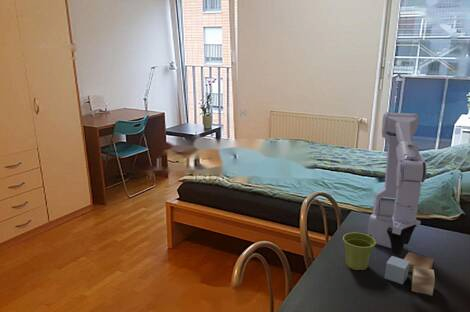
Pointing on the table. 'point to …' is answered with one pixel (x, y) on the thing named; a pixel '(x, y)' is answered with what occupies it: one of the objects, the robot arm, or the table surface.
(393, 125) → the robot arm
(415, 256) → the oak block
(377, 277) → the table surface
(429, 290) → the beech cube
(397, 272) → the grey cube
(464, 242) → the table surface
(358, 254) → the plant pot
